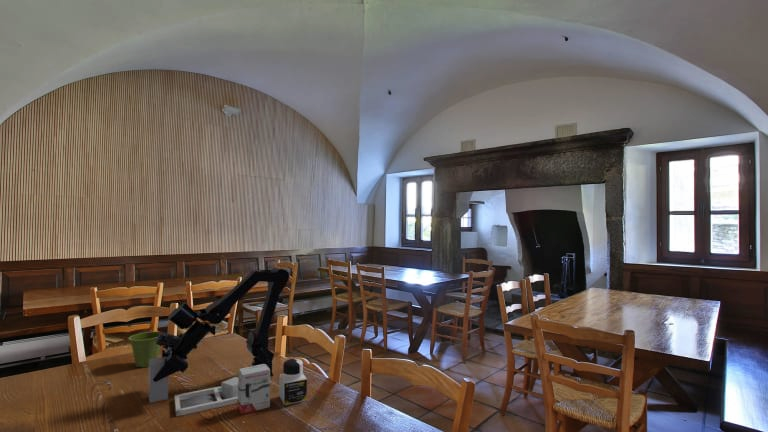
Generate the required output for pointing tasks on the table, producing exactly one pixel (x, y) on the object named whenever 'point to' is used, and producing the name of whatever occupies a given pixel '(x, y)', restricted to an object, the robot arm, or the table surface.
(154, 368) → the block
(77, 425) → the table surface
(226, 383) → the small box
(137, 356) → the plant pot
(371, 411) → the table surface
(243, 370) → the ink box
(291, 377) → the medicine bottle
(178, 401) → the frame
